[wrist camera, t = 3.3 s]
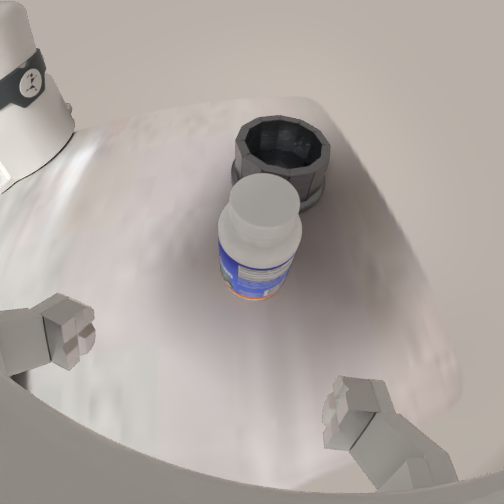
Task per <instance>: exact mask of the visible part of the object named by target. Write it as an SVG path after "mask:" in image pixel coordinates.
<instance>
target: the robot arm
mask: <svg viewBox="0 0 504 504" xmlns="http://www.w3.org/2000/svg"><path fill="white" fill-rule="evenodd" d="M45 70H46V66H45V63H44V58H43V55H42V54H41V52H40V49H38V48H36V46H35V43H34V39H33V35H32V32H31V28H30V24H29V20H28V16H27V12H26V9H25V8H24V6H23V5H21V4H20V3H18V2H15V1H2V2H0V193H3V192H4V191H5V190H7V189H8V188H9V187H10V186H11V185H13V184H14V183H15V182H16V181H18V180H20V179H22V178H24V177H26V176H28V175H30V174H31V173H33V172H35V171H36V170H38V169H39V168H40V167H42V166H43V165H44V164H46V163H47V162H48V161H49V160H51V159H52V158H53V157H54V156H55V155H56V154H57V153H58V152H59V151H60V150H61V149H62V148H63V146H64V145H65V144H66V143H67V141H68V140H69V138H70V137H71V135H72V133H73V131H74V127H75V122H74V120H73V118H72V116H71V112H72V107H71V105H70V104H69V103H65V102H64V100H63V98H62V96H61V94H60V92H59V89H58V87H57V85H56V83H55V82H54V79H53V78H52V76H51V75H50V74H46V73H45ZM94 319H95V318H94V310H93V309H92V308H91V307H90V306H88V305H85V304H83V303H81V302H79V301H76V300H74V299H72V298H69V297H68V296H65V295H63V294H60V293H57V294H55V295H53V296H51V297H50V298H48V299H46V300H45V301H43V302H41V303H40V304H38V305H36V306H35V307H33V308H31V309H28V308H23V309H14V310H5V311H0V504H504V468H502V469H500V470H497V471H493V472H490V473H487V474H484V475H480V476H477V477H473V478H469V479H465V480H461V481H459V480H458V477H457V475H456V472H455V469H454V467H453V464H452V461H451V459H450V456H449V454H448V453H447V452H446V451H445V450H443V449H442V448H441V447H440V446H438V445H437V444H436V443H435V442H433V441H432V440H431V439H430V438H428V437H427V436H426V435H425V434H424V433H422V432H421V431H420V430H419V429H418V428H416V427H415V426H414V425H413V424H412V423H410V422H409V421H408V420H407V419H406V418H404V417H403V416H402V415H401V414H396V412H395V409H394V406H393V404H392V401H391V398H390V395H389V393H388V390H387V387H386V385H385V382H384V381H382V380H374V379H360V378H352V377H345V376H338V377H337V379H336V380H335V382H334V384H333V389H334V392H333V393H331V394H329V395H328V396H327V399H326V401H325V403H324V407H323V410H322V423H323V424H324V425H325V426H326V428H325V430H324V432H323V440H324V448H326V449H335V450H345V451H349V452H350V454H351V455H352V457H353V458H354V459H355V461H356V462H357V463H358V465H359V466H360V467H361V469H362V470H363V471H364V473H365V474H366V475H367V477H368V478H369V479H370V481H371V482H372V483H373V485H374V486H375V487H376V489H377V491H376V492H375V493H320V492H319V493H318V492H305V491H294V490H285V489H277V488H270V487H263V486H257V485H251V484H246V483H241V482H236V481H231V480H227V479H222V478H218V477H214V476H210V475H206V474H203V473H199V472H196V471H192V470H189V469H185V468H182V467H179V466H176V465H173V464H170V463H167V462H164V461H161V460H159V459H156V458H153V457H151V456H148V455H146V454H143V453H140V452H138V451H136V450H133V449H131V448H128V447H126V446H124V445H122V444H119V443H117V442H115V441H113V440H111V439H109V438H107V437H105V436H102V435H100V434H98V433H96V432H95V431H93V430H91V429H89V428H87V427H85V426H83V425H81V424H79V423H78V422H76V421H74V420H72V419H71V418H69V417H67V416H65V415H64V414H62V413H60V412H59V411H57V410H56V409H54V408H52V407H51V406H49V405H48V404H46V403H45V402H43V401H42V400H40V399H39V398H37V397H36V396H34V395H33V394H31V393H30V392H28V391H27V390H26V389H24V388H23V387H22V386H20V385H19V384H18V383H16V382H15V381H14V380H12V379H11V378H10V377H9V376H12V375H15V374H18V373H21V372H24V371H27V370H30V369H33V368H36V367H39V366H42V365H45V364H48V363H51V362H53V363H55V364H57V365H59V366H61V367H63V368H64V369H66V370H68V371H70V370H71V369H72V368H73V367H74V366H75V365H76V364H77V363H78V362H79V361H80V355H84V354H87V353H88V352H89V351H90V350H91V349H92V347H93V345H94V343H95V337H96V333H95V328H94V327H93V325H92V322H93V320H94Z"/></svg>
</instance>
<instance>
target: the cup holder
mask: <svg viewBox="0 0 504 504" xmlns="http://www.w3.org/2000/svg"><path fill="white" fill-rule="evenodd" d="M329 157H330V144H329V143H328V141H327V140H326V138H325V137H324V135H323V134H322V133H321V131H320V130H318V129H317V128H315V127H313V126H311V125H310V124H308V123H306V122H304V121H303V120H300V119H295V118H291V117H286V116H281V115H280V116H279V115H276V116H266V117H259V118H256V119H254V120H252V121H250V122H249V123H247V124H245V125H243V126H242V127H241V129H240V131H239V133H238V136H237V138H236V140H235V160H234V162H233V164H232V169H231V180H232V185H233V187H234V185H235V184H236V183H237V182H238V181H239V180H241V179H242V178H244V177H246V176H249V175H252V174H257V173H267V174H273V175H276V176H279V177H281V178H283V179H285V180H286V181H288V182H289V183H290V184H291V185H292V186H293V187H294V188H295V189H296V191H297V193H298V195H299V198H300V209H299V213H301V212H303V211H306V210H308V209H309V208H311V207H312V206H313V205H315V203H316V202H317V201H318V200H319V198H320V196H321V194H322V191H323V189H324V185H325V175H324V174H325V171H326V168H327V165H328V163H329Z"/></svg>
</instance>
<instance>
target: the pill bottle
mask: <svg viewBox="0 0 504 504" xmlns="http://www.w3.org/2000/svg"><path fill="white" fill-rule="evenodd" d="M299 209H300V198H299V195H298V193H297V191H296V189H295V188H294V187H293V186H292V185H291V184H290V183H289V182H288V181H286V180H285V179H283V178H281V177H279V176H276V175H273V174H267V173H257V174H252V175H249V176H246V177H244V178H242V179H241V180H239V181H238V182H237V183H236V184H235V185H234V187H233V188H232V190H231V193H230V197H229V203H228V204H227V205H226V206H225V208H224V209H223V211H222V212H221V214H220V217H219V221H218V241H219V255H220V267H221V275H222V279H223V281H224V283H225V285H226V286H227V288H228V289H229V290H230V291H231V292H232V293H233V294H235V295H236V296H238V297H240V298H243V299H246V300H253V301H256V300H263V299H266V298H269V297H271V296H272V295H274V294H275V293H276V292H277V291H278V290H279V289H280V287H281V286H282V284H283V282H284V280H285V278H286V275H287V272H288V270H289V268H290V265H291V263H292V260H293V258H294V256H295V253H296V251H297V249H298V246H299V243H300V240H301V237H302V224H301V220H300V217H299V215H298V213H299Z"/></svg>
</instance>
